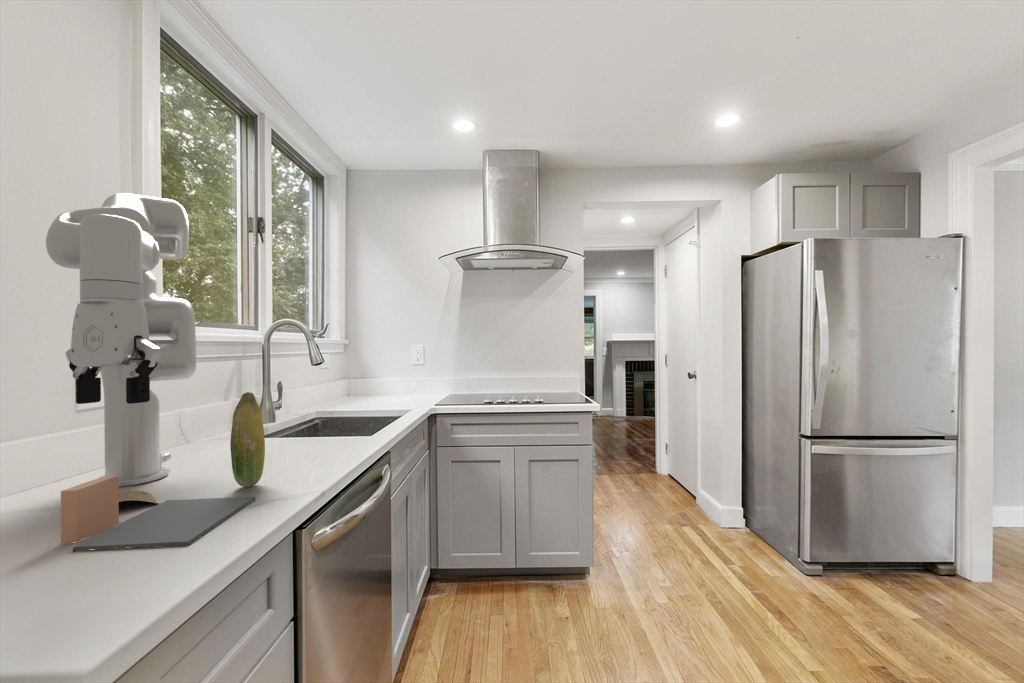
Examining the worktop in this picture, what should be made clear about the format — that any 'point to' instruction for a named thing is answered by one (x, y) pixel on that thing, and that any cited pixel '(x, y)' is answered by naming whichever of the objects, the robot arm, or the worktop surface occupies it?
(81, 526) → the block
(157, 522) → the mat
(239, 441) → the vegetable
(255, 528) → the worktop surface
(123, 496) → the cork arch piece
